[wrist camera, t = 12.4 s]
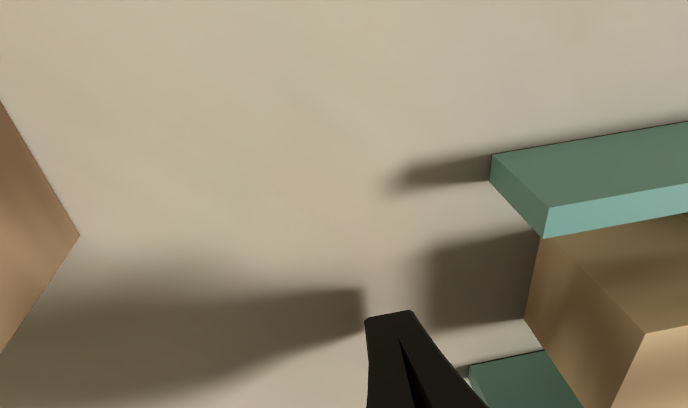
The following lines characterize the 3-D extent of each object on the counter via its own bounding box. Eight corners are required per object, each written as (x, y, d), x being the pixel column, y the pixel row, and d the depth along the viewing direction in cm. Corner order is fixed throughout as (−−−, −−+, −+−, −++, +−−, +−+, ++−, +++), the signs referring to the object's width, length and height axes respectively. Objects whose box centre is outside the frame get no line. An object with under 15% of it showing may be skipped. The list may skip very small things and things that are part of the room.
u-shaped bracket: (657, 339, 16) (715, 398, 14) (468, 378, 15) (498, 445, 13) (773, 107, 11) (894, 146, 9) (492, 154, 10) (548, 207, 8)
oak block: (628, 295, 14) (736, 400, 11) (522, 316, 14) (599, 430, 11) (666, 203, 12) (815, 298, 9) (540, 225, 12) (645, 333, 9)
